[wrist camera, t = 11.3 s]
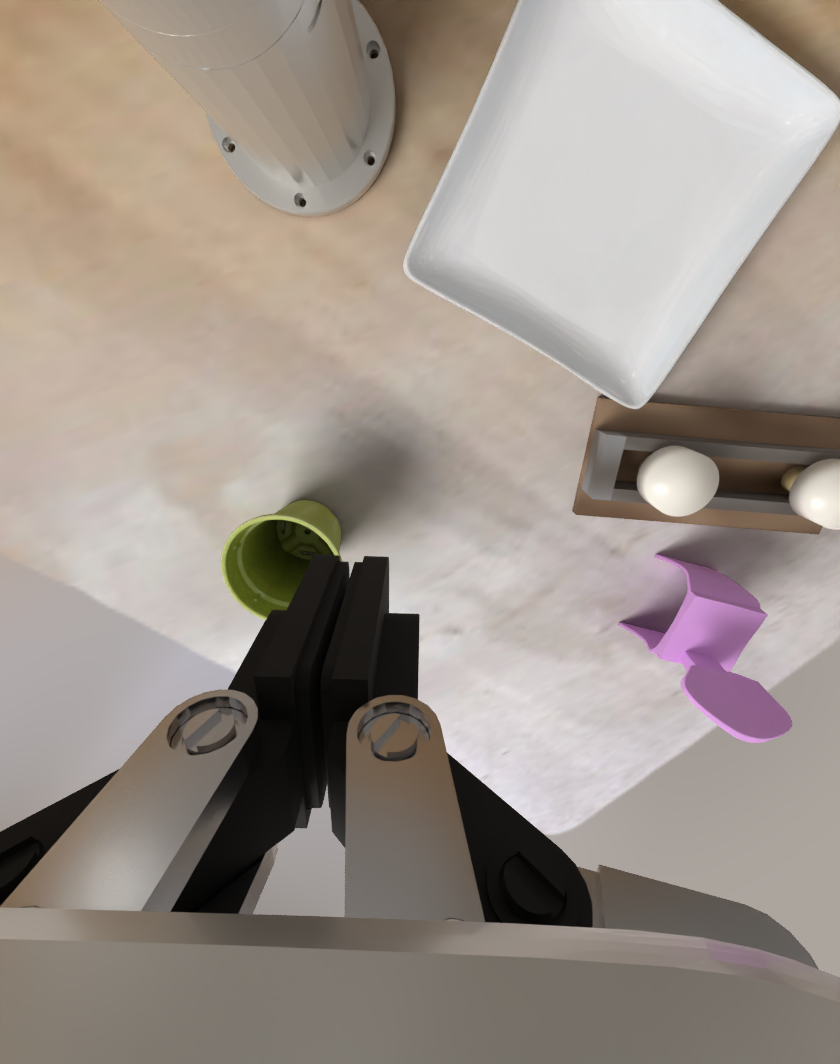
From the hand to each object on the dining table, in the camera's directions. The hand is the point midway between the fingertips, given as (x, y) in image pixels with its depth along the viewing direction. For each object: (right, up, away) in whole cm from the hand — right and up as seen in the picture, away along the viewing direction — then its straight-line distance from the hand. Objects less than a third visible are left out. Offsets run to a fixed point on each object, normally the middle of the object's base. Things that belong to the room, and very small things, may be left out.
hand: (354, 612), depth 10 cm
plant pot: (-9, +2, +32) cm, 33 cm away
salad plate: (+14, +25, +22) cm, 37 cm away
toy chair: (+26, -4, +34) cm, 43 cm away
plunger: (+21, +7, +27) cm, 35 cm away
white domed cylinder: (+33, +6, +27) cm, 43 cm away
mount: (+27, +8, +29) cm, 40 cm away
